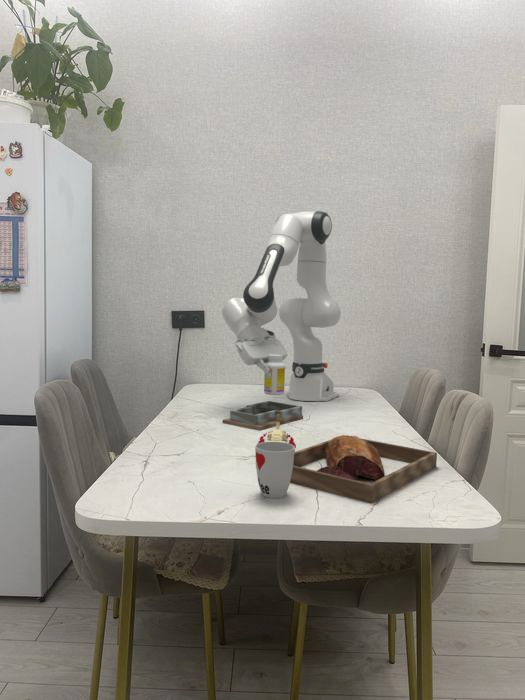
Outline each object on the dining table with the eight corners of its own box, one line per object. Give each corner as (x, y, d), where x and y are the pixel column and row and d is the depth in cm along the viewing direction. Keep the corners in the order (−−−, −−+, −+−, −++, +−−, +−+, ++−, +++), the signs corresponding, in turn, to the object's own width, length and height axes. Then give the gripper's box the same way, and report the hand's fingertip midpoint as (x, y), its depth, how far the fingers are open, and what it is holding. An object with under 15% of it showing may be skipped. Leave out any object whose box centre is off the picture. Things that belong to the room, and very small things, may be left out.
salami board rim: (343, 447, 161) (343, 435, 160) (436, 466, 145) (436, 452, 144) (268, 476, 135) (268, 461, 135) (371, 503, 119) (372, 486, 119)
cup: (253, 487, 127) (253, 441, 126) (290, 487, 128) (292, 441, 127) (255, 501, 119) (256, 451, 118) (296, 500, 120) (297, 451, 119)
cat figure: (260, 443, 169) (254, 461, 144) (260, 413, 169) (255, 425, 144) (295, 445, 169) (295, 463, 144) (296, 414, 168) (296, 426, 143)
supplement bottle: (284, 392, 199) (286, 354, 198) (283, 396, 192) (284, 356, 191) (264, 391, 200) (265, 353, 198) (262, 395, 193) (264, 355, 192)
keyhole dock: (267, 412, 206) (267, 400, 206) (303, 418, 197) (303, 406, 197) (222, 422, 188) (222, 410, 188) (259, 430, 179) (260, 417, 179)
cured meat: (308, 489, 127) (310, 458, 126) (307, 457, 152) (308, 430, 151) (394, 495, 126) (396, 463, 125) (378, 461, 151) (380, 435, 150)
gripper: (238, 334, 190) (262, 367, 185) (277, 331, 206) (299, 362, 201) (227, 347, 193) (250, 380, 188) (266, 343, 209) (288, 374, 204)
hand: (276, 371), depth 195 cm, fingers closed on supplement bottle, 7 cm apart
